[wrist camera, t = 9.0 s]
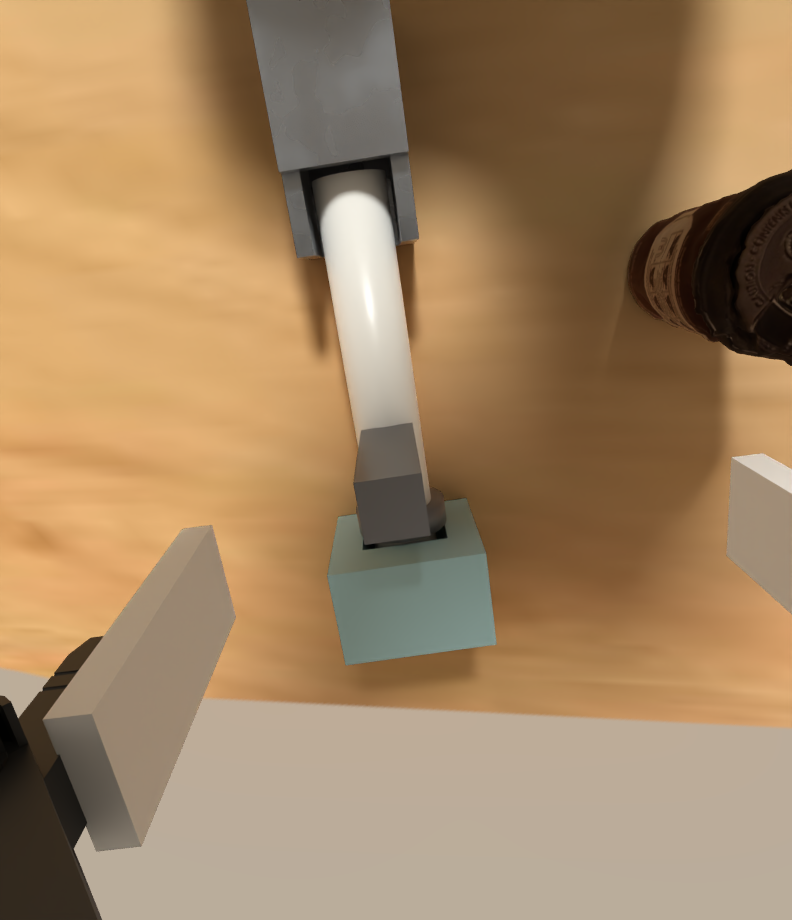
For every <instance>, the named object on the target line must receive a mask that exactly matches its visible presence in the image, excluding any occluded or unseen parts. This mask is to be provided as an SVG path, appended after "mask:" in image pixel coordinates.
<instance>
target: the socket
mask: <svg viewBox="0 0 792 920" xmlns="http://www.w3.org/2000/svg"><path fill="white" fill-rule="evenodd" d="M444 503H445V511H446V519H447V520H446V523H445V525H444V526H443V527H442V528H441V529H440V530H438V531H437V532H436V537H437V540H432V541H425V542H418V543H411V544H404V545H397V546H390V547H383V548H376V547H375V544H368V545H365V544H364V539H363V536H362V535H361V533H360V529H359V523H358V518H357V514H353V515H347V516H340V517H338V520H337V526H336V531H335V537H334V542H333V548H332V553H331V558H330V564H329V569H328V575H327V577H328V582H329V587H330V592H331V596H332V601H333V606H334V611H335V616H336V621H337V626H338V631H339V635H340V640H341V645H342V650H343V655H344V660H345V665H353V664H360V663H367V662H374V661H381V660H389V659H396V658H403V657H410V656H417V655H425V654H432V653H439V652H446V651H453V650H461V649H468V648H475V647H482V646H489V645H497V644H496V635H495V626H494V617H493V609H492V600H491V591H490V582H489V574H488V565H487V556H486V551H485V549H484V546H483V543H482V540H481V537H480V535H479V532H478V529H477V526H476V523H475V521H474V518H473V515H472V512H471V509H470V507H469V504H468V501H467V498H463V499H457V500H450V501H444Z"/></svg>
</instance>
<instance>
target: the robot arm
mask: <svg viewBox="0 0 792 920" xmlns="http://www.w3.org/2000/svg"><path fill="white" fill-rule="evenodd" d="M726 556H727V557H729V558H730V559H731V560H732V561H733V562H734V563H735V564H736V565H737V566H739V567H740V568H741V569H742V570H743V571H744V572H745V573H746V574H747V575H749V576H750V577H751V578H752V579H753V580H754V581H755V582H756V583H757V584H759V585H760V586H761V587H762V588H763V589H764V590H765V591H766V592H767V593H769V594H770V595H771V596H772V597H773V598H774V599H775V600H776V601H777V602H779V603H780V604H781V605H782V606H783V607H784V608H785V609H786V610H787V611H789V612H790V613H791V614H792V469H791V468H789V467H787V466H785V465H783V464H781V463H780V462H778V461H776V460H774V459H772V458H770V457H769V456H767V455H765V454H763V453H761V454H753V455H746V456H738V457H731V476H730V496H729V515H728V535H727V555H726ZM235 618H236V615H235V612H234V608H233V604H232V600H231V596H230V592H229V588H228V585H227V581H226V577H225V573H224V569H223V565H222V561H221V558H220V554H219V550H218V546H217V542H216V538H215V534H214V531H213V527H212V525H208V526H200V527H193V528H185V529H182V530H181V532H180V533H179V534H178V536H177V537H176V538H175V540H174V541H173V543H172V544H171V545H170V547H169V548H168V549H167V551H166V552H165V553H164V555H163V556H162V558H161V559H160V560H159V562H158V563H157V564H156V566H155V567H154V568H153V570H152V571H151V573H150V574H149V575H148V577H147V578H146V579H145V581H144V582H143V583H142V585H141V586H140V587H139V589H138V590H137V592H136V593H135V594H134V596H133V597H132V598H131V600H130V601H129V602H128V604H127V605H126V607H125V608H124V609H123V611H122V612H121V613H120V615H119V616H118V617H117V619H116V620H115V622H114V623H113V624H112V626H111V627H110V628H109V630H108V631H107V632H106V634H105V635H104V636H101V637H93V638H90V639H88V640H87V641H86V642H85V643H83V644H82V645H81V646H79V647H78V648H77V649H75V650H74V651H73V652H72V653H70V654H69V655H68V656H67V657H66V659H65V660H64V661H63V663H62V664H61V665H60V666H59V668H58V669H57V670H56V671H55V673H54V674H55V675H54V676H51V678H50V679H49V680H48V682H47V683H46V684H45V685H44V687H43V691H42V692H39V693H38V694H37V696H36V697H35V698H34V700H33V701H32V702H31V703H30V705H29V706H28V707H27V708H26V710H25V711H24V712H23V713H22V715H21V716H20V717H19V718H18V717H17V715H16V713H15V710H14V708H13V706H12V703H11V701H9V700H8V699H7V698H6V697H5V696H0V920H102V919H101V916H100V913H99V911H98V908H97V906H96V903H95V901H94V898H93V896H92V893H91V891H90V888H89V886H88V883H87V881H86V878H85V876H84V873H83V871H82V868H81V866H80V863H79V861H78V858H77V856H76V854H75V851H74V847H75V845H76V843H77V841H78V839H79V837H80V836H81V834H82V832H83V830H84V828H85V826H86V827H87V829H88V832H89V835H90V837H91V840H92V842H93V844H94V847H95V849H96V851H105V850H114V849H123V848H130V847H131V848H132V847H141V846H142V844H143V841H144V839H145V836H146V834H147V831H148V829H149V827H150V824H151V822H152V819H153V817H154V815H155V812H156V810H157V807H158V805H159V802H160V800H161V798H162V795H163V793H164V790H165V788H166V785H167V783H168V781H169V778H170V776H171V773H172V771H173V769H174V766H175V764H176V761H177V759H178V756H179V754H180V752H181V749H182V747H183V744H184V742H185V739H186V737H187V734H188V732H189V730H190V727H191V725H192V722H193V720H194V717H195V715H196V713H197V710H198V708H199V705H200V703H201V701H202V698H203V696H204V693H205V691H206V688H207V686H208V684H209V681H210V679H211V676H212V674H213V671H214V669H215V667H216V664H217V662H218V659H219V657H220V654H221V652H222V650H223V647H224V645H225V642H226V640H227V637H228V635H229V633H230V630H231V628H232V625H233V623H234V620H235Z"/></svg>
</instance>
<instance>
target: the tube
mask: <svg viewBox="0 0 792 920" xmlns="http://www.w3.org/2000/svg"><path fill="white" fill-rule="evenodd" d="M312 188H313V193H314V199H315V205H316V210H317V216H318V222H319V228H320V233H321V239H322V245H323V250H324V256H325V262H326V267H327V273H328V279H329V285H330V290H331V296H332V302H333V307H334V313H335V319H336V325H337V330H338V336H339V342H340V347H341V353H342V359H343V364H344V370H345V376H346V382H347V387H348V393H349V399H350V404H351V410H352V416H353V422H354V427H355V433H356V439H357V444H358V454H357V461H356V468H355V475H354V482H353V484H354V489H355V495H356V500H357V507H356V512H357V518H358V523H359V529H360V533H361V535H362V536H363V539H364V544H365V545H368V544H375V547H376V548H383V547H390V546H397V545H404V544H411V543H418V542H425V541H432V540H437V537H436V532H437V531H438V530H440V529H441V528H442V527H443V526H444V525H445V523H446V520H447V519H446V511H445V503H444V496H443V494H442V493H441V492H440V491H439V490H437V489H435V488H431V487H429V480H428V473H427V466H426V459H425V452H424V445H423V438H422V430H421V423H420V416H419V409H418V402H417V395H416V388H415V381H414V374H413V366H412V359H411V352H410V345H409V338H408V331H407V324H406V317H405V310H404V302H403V295H402V288H401V281H400V274H399V267H398V260H397V253H396V246H395V238H394V231H393V224H392V217H391V210H390V203H389V196H388V189H387V182H386V174H385V171H384V170H380V169H366V170H356V171H348V172H342V173H337V174H332V175H328V176H324V177H321V178H318V179H316V180H314V181H312Z"/></svg>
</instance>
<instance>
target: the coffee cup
mask: <svg viewBox="0 0 792 920" xmlns="http://www.w3.org/2000/svg"><path fill="white" fill-rule="evenodd" d="M628 284H629V287H630V290H631V292H632V295H633V297H634V299H635V300H636V302H637V303H638V304H639V306H640V307H641V308H642V309H643V310H645V311H646V312H647V313H649V314H650V315H651V316H652V317H653V318H655V319H661V320H664V321H666V322H667V323H668V324H670V325H671V326H674V327H680V328H684V329H686V330H687V331H691V332H694V333H697V334H700V335H702V336H703V337H704V338H705V339H707V340H708V341H711V342H717V341H720V342H721V343H722V344H723V345H725V346H726V347H727V348H728V349H730V350H732V351H735V352H736V353H739V354H746V355H751V356H757V357H764V358H769V359H779V360H784V361H785V362H786V363H787V364H789V365H790V366H792V169H791V170H790V171H788V172H785V173H782V174H778V175H775V176H772V177H769V178H767V179H765V180H762V181H760V182H758V183H757V184H756V185H754V186H752V187H750V188H749V189H747V190H744V191H742V192H740V193H738V194H733V195H730V196H726V197H723V198H721V199H719V200H716V201H713V202H710V203H706V204H704V205H702V206H700V207H695V208H692V209H689V210H686V211H683V212H680V213H678V214H676V215H674V216H673V217H671V218H669V219H665V220H662V221H659V222H657V223H656V224H654V225H653V226H652V227H650V228H649V229H648V230H647V232H646V233H645V234H644V235H643V236H642V237H641V239H640V240H639V241H638V242H637V244H636V245H635V247H634V249H633V251H632V254H631V257H630V261H629V272H628Z"/></svg>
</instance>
